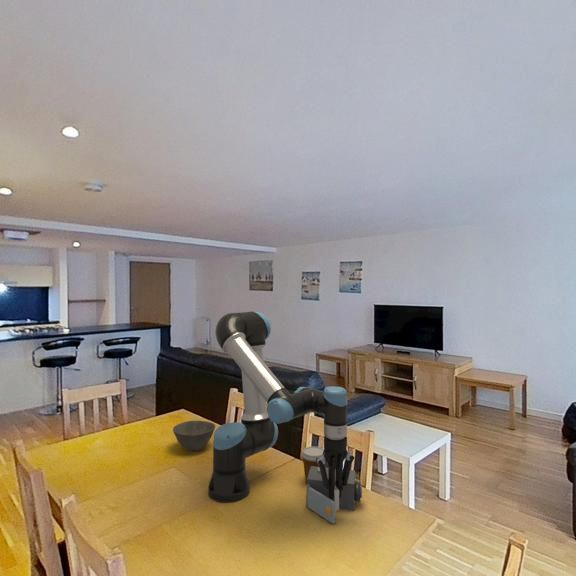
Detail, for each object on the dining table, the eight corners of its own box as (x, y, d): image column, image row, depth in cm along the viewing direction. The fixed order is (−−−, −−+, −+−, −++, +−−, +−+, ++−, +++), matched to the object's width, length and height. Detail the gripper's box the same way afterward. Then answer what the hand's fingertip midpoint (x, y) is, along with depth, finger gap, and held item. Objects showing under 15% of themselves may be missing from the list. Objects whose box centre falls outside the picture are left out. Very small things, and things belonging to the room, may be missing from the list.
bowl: (223, 446, 185) (223, 424, 185) (193, 461, 169) (193, 438, 169) (194, 437, 195) (194, 417, 195) (163, 451, 179) (164, 428, 179)
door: (304, 506, 135) (304, 485, 135) (308, 505, 136) (308, 484, 136) (331, 525, 125) (331, 502, 125) (335, 523, 126) (335, 500, 126)
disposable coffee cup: (324, 489, 147) (325, 457, 147) (299, 487, 149) (299, 455, 148) (327, 477, 156) (327, 447, 156) (303, 475, 158) (303, 444, 158)
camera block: (306, 505, 136) (307, 476, 136) (310, 490, 146) (311, 463, 146) (361, 511, 133) (362, 481, 133) (361, 496, 143) (362, 468, 143)
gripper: (321, 442, 124) (321, 518, 124) (358, 437, 128) (358, 510, 128) (312, 434, 131) (312, 505, 131) (347, 429, 135) (347, 498, 135)
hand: (335, 508), depth 129 cm, fingers closed
